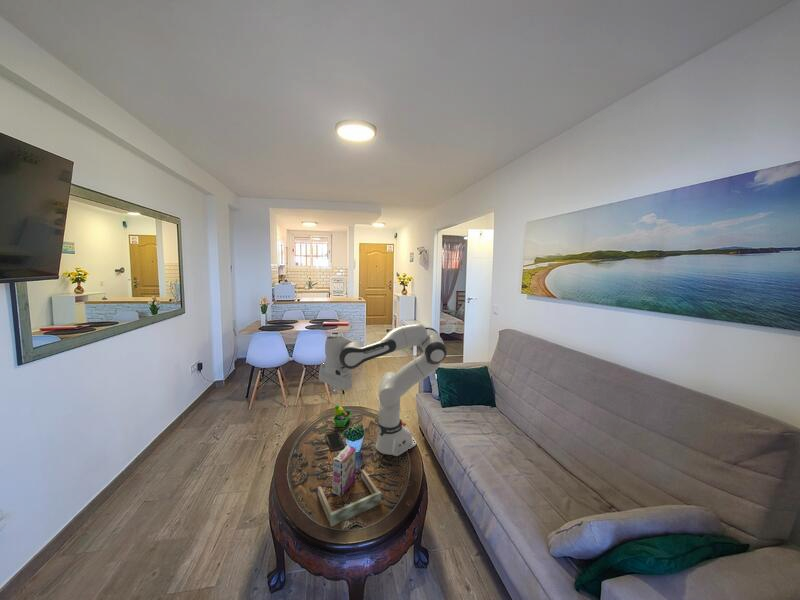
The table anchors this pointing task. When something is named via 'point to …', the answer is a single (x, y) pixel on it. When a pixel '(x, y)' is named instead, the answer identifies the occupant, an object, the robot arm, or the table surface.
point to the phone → (334, 441)
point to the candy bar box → (343, 470)
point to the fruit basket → (341, 416)
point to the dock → (354, 507)
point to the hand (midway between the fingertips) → (334, 393)
